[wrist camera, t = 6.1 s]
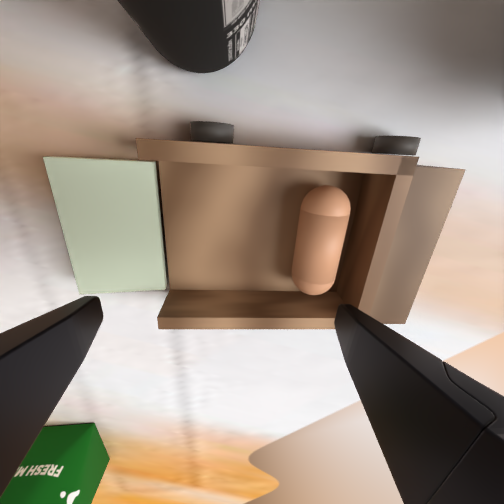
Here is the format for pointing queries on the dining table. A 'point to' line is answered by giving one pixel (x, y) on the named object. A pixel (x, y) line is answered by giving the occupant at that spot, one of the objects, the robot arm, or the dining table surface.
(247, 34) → the beverage can
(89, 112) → the dining table surface
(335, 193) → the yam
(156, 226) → the tailgate
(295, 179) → the wooden drawer box
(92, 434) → the milk carton
